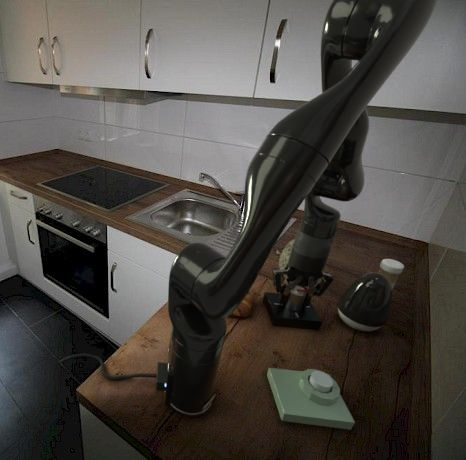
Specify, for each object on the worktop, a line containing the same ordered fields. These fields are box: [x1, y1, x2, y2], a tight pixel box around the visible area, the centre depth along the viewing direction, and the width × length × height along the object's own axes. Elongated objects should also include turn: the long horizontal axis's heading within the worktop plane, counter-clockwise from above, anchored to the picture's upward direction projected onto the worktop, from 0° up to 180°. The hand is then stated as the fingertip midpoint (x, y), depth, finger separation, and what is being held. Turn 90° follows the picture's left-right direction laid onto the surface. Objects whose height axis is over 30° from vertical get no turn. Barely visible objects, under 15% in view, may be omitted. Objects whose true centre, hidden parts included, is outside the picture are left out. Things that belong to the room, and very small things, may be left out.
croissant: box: [228, 291, 256, 318], centre depth 86 cm, size 12×11×4 cm
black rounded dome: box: [337, 271, 393, 332], centre depth 77 cm, size 10×10×15 cm
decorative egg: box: [278, 238, 325, 279], centre depth 93 cm, size 12×12×15 cm
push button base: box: [266, 367, 356, 431], centre depth 61 cm, size 12×10×4 cm
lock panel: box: [262, 291, 323, 331], centre depth 82 cm, size 11×10×3 cm
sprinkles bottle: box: [377, 258, 405, 290], centre depth 84 cm, size 5×5×13 cm
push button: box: [309, 370, 333, 393], centre depth 60 cm, size 4×4×2 cm
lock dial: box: [284, 285, 307, 311], centre depth 81 cm, size 4×4×5 cm
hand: (292, 304), depth 82 cm, fingers closed on lock dial, 4 cm apart
